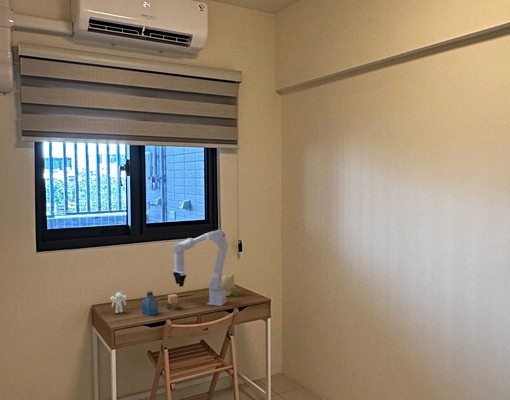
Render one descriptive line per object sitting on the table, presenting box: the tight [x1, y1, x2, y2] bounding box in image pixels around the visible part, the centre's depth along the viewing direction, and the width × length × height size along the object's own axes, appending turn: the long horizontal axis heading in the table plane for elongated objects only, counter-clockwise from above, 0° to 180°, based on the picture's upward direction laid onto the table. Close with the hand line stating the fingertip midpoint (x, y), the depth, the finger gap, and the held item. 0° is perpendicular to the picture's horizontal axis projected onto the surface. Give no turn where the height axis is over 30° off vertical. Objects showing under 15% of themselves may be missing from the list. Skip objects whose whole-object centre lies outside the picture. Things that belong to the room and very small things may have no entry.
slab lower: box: [166, 305, 180, 311], centre depth 273 cm, size 5×5×2 cm
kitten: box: [220, 272, 239, 298], centre depth 299 cm, size 15×10×15 cm
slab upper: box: [166, 300, 180, 307], centre depth 273 cm, size 5×5×2 cm
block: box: [167, 293, 179, 304], centre depth 272 cm, size 4×4×4 cm
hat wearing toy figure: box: [110, 290, 128, 314], centre depth 265 cm, size 9×4×12 cm, turn 118°
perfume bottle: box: [141, 291, 159, 317], centre depth 263 cm, size 6×6×12 cm
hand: (179, 285), depth 285 cm, fingers open, 7 cm apart
